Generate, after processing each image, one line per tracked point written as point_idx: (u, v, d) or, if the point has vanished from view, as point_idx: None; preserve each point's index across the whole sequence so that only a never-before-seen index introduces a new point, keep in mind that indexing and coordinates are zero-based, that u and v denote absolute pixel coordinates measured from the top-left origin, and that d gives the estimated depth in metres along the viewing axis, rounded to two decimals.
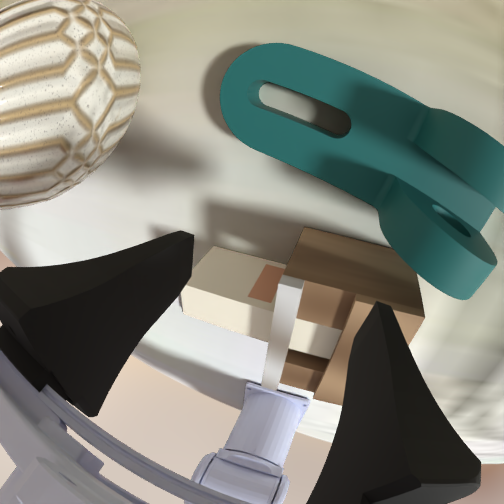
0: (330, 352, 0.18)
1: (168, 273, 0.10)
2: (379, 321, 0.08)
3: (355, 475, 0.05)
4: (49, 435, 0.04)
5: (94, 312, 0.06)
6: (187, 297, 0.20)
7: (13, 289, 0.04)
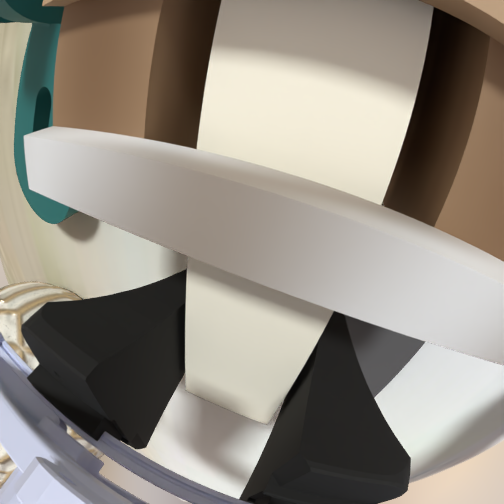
0: None
1: None
2: None
3: (273, 455, 0.05)
4: (49, 435, 0.04)
5: (157, 348, 0.06)
6: (216, 398, 0.08)
7: (65, 335, 0.04)
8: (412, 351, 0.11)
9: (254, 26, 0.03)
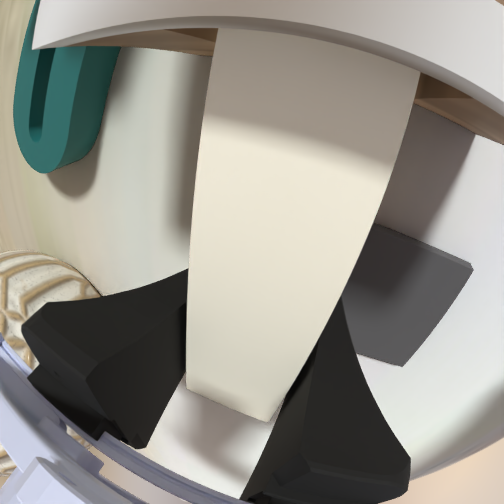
0: None
1: None
2: None
3: (273, 455, 0.05)
4: (49, 435, 0.04)
5: (157, 348, 0.06)
6: (217, 395, 0.08)
7: (65, 335, 0.04)
8: (449, 300, 0.09)
9: None
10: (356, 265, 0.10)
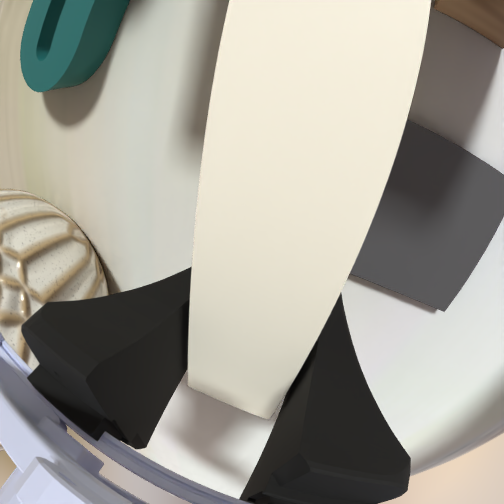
0: None
1: None
2: None
3: (273, 455, 0.05)
4: (49, 435, 0.04)
5: (157, 348, 0.06)
6: (218, 393, 0.08)
7: (65, 335, 0.04)
8: (496, 220, 0.07)
9: (261, 24, 0.03)
10: (399, 168, 0.08)
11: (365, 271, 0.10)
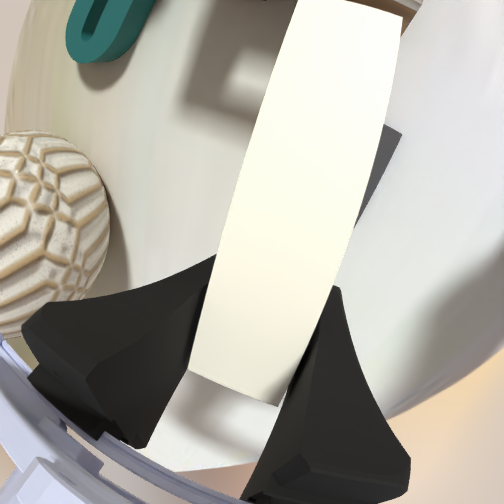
0: (374, 33, 0.05)
1: None
2: None
3: (273, 455, 0.05)
4: (49, 435, 0.04)
5: (157, 348, 0.06)
6: (224, 371, 0.08)
7: (65, 335, 0.04)
8: (385, 159, 0.13)
9: (307, 40, 0.06)
10: None
11: None
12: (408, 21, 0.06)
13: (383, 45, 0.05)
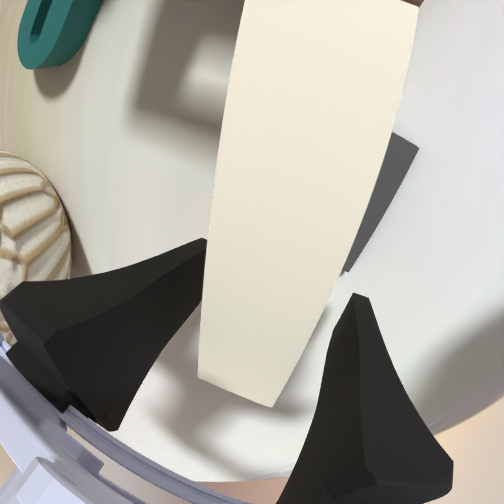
0: (370, 41, 0.03)
1: (190, 283, 0.10)
2: (353, 312, 0.08)
3: (320, 468, 0.05)
4: (49, 435, 0.04)
5: (120, 328, 0.06)
6: (226, 383, 0.09)
7: (32, 308, 0.04)
8: (394, 182, 0.09)
9: (264, 64, 0.04)
10: None
11: None
12: None
13: (383, 64, 0.04)
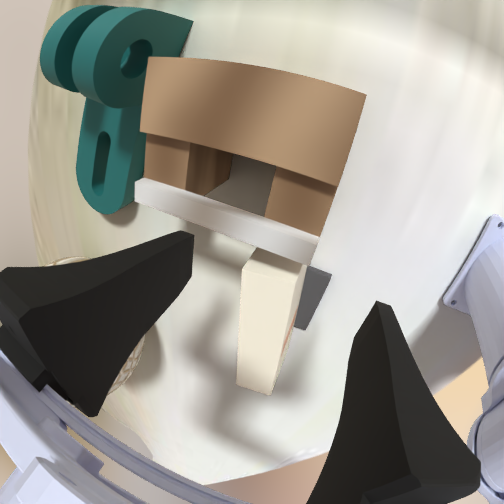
0: (280, 294, 0.16)
1: (168, 273, 0.10)
2: (379, 321, 0.08)
3: (355, 475, 0.05)
4: (49, 435, 0.04)
5: (94, 311, 0.06)
6: (249, 385, 0.22)
7: (13, 289, 0.04)
8: (320, 293, 0.21)
9: (250, 298, 0.17)
10: None
11: None
12: None
13: (284, 300, 0.16)
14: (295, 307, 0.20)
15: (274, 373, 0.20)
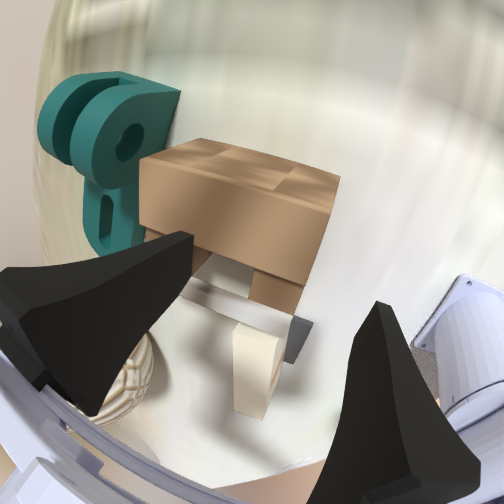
0: (264, 351, 0.19)
1: (168, 273, 0.10)
2: (379, 321, 0.08)
3: (355, 475, 0.05)
4: (49, 435, 0.04)
5: (95, 312, 0.06)
6: (244, 412, 0.24)
7: (13, 289, 0.04)
8: (304, 337, 0.24)
9: (240, 352, 0.20)
10: None
11: None
12: None
13: (268, 356, 0.19)
14: (281, 352, 0.23)
15: (264, 404, 0.22)
